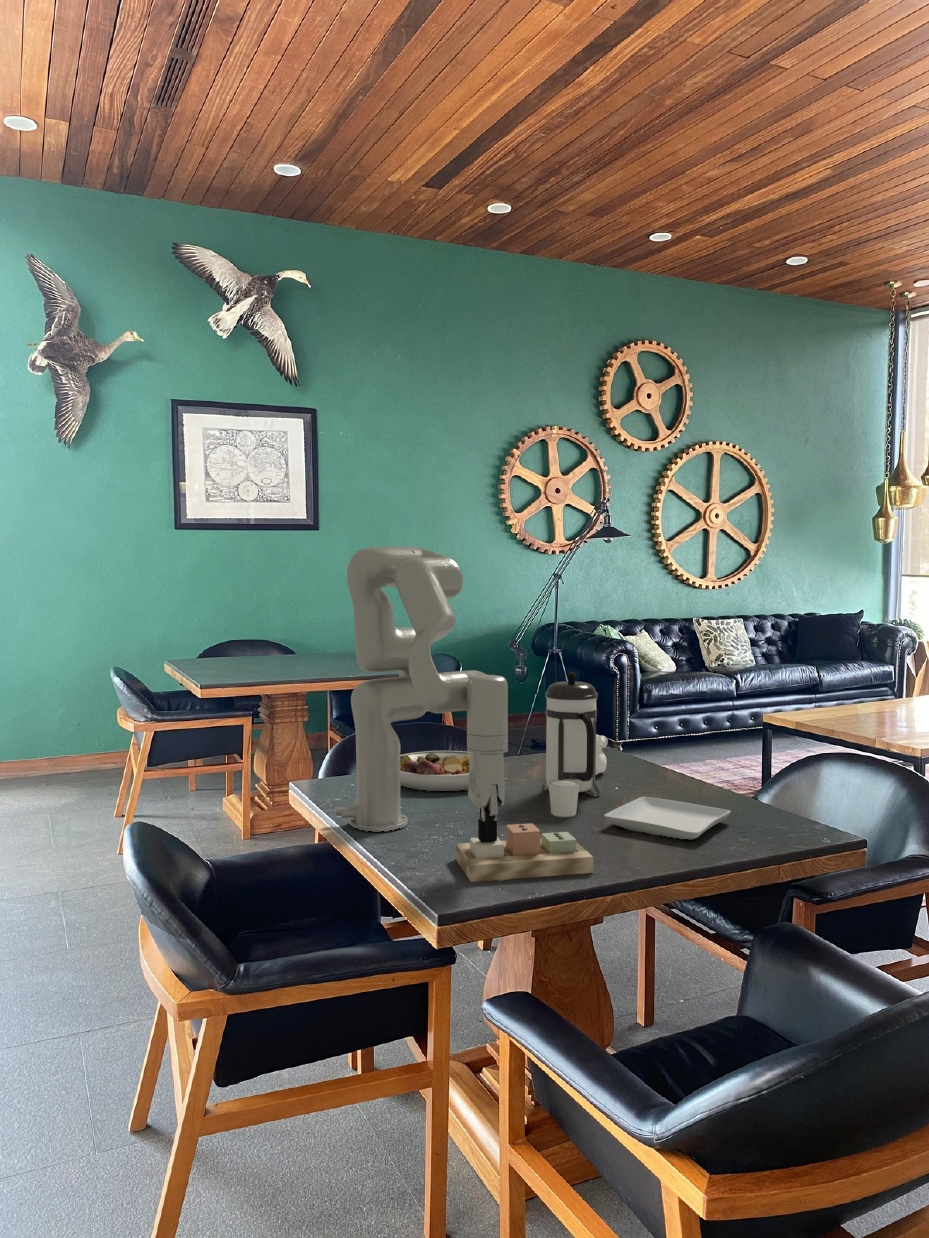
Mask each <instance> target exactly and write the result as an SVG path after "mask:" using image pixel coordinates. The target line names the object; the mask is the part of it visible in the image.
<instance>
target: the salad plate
mask: <svg viewBox="0 0 929 1238" xmlns="http://www.w3.org/2000/svg"><path fill="white" fill-rule="evenodd" d="M730 814H731V810H729V809H725V808H719V807H715V806H714V807H713V806H708V805H707V806H706V805H701V804H695V803H690V802H685V801H678V800H672V799H664V798H658V797H651V796H640V797H638V798H636V799H634V800H631V801H629V802H627V803H625V804H623V805H621V806H619V807H617V808H615V809H613V810H611V811H609V812H607V813H605V814H604V815H603V817H604V818H605V819H606V820H607V821H608V822H609V823H611V824H612V825H615V826H617V827H621V828H624V829H626V830H628V831H631V832H632V831H633V832H638V833H642V832H645V833H644V834H647V833H649V835H653V836H659V835H662V836H661V837H664V836H667V837H666V838H670V837H672V838H671V839H676V838H679V839H678V840H683V839H688V840H695V839H697V838H699V837H700V836H701V835H702V834H704V833H705V832H706V831H708V830H709V829H711V828H713V827H714V826H715V825H717V824H719V823H721V822H722V821H724V820H725V819H727V818H728V816H729V815H730Z"/></svg>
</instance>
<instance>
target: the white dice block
mask: <svg viewBox="0 0 929 1238" xmlns="http://www.w3.org/2000/svg"><path fill="white" fill-rule="evenodd" d="M501 841H502V840H501V839H500V838H499V837H498V836H497V841H495V842H480V840H479V839H478V837H470V838H469V843H470V853H471V854H472V856H473V857H474V859H478V858H492V857H504V844H503V843H502V842H501Z"/></svg>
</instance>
